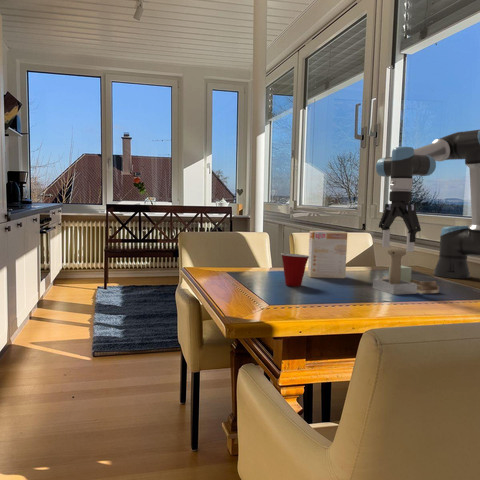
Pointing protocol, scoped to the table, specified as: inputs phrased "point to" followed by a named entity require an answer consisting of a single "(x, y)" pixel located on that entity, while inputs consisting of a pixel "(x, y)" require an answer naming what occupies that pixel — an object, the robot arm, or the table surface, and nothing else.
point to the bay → (424, 286)
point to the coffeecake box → (327, 254)
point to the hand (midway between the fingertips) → (397, 249)
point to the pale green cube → (404, 273)
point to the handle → (395, 265)
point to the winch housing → (395, 287)
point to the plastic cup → (294, 268)
